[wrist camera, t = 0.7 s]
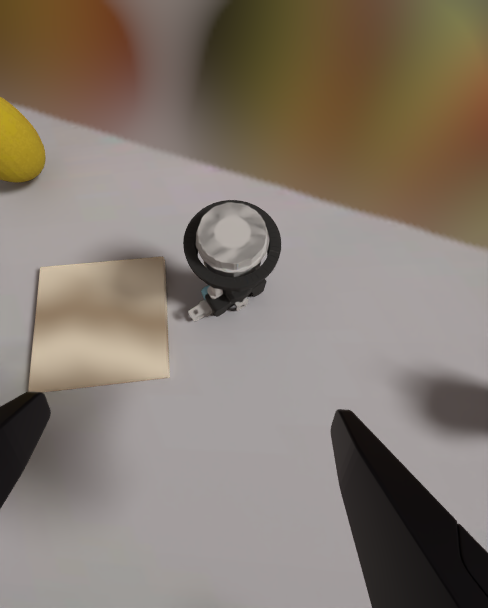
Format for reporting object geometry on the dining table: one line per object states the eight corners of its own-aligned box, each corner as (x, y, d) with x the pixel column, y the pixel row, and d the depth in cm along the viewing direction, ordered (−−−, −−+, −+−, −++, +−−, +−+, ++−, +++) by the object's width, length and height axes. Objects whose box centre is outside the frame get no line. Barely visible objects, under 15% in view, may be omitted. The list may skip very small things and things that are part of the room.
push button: (209, 346, 23) (191, 315, 13) (176, 293, 24) (137, 229, 14) (276, 303, 24) (305, 246, 14) (241, 255, 25) (246, 172, 15)
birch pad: (169, 377, 22) (167, 377, 21) (35, 393, 21) (28, 393, 20) (165, 260, 25) (162, 256, 24) (46, 271, 24) (40, 267, 23)
